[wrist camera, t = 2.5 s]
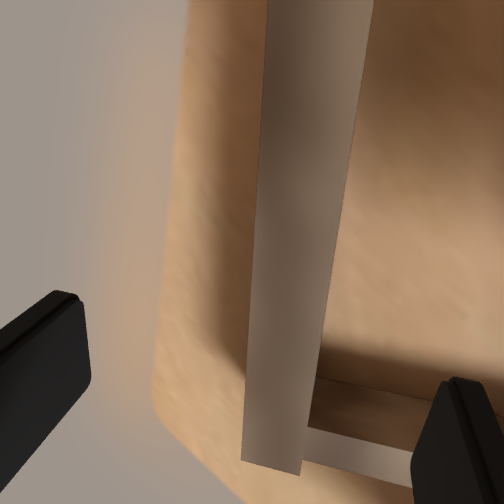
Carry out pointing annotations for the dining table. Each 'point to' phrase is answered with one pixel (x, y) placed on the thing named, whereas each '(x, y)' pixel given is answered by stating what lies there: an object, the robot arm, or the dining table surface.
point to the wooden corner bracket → (311, 256)
